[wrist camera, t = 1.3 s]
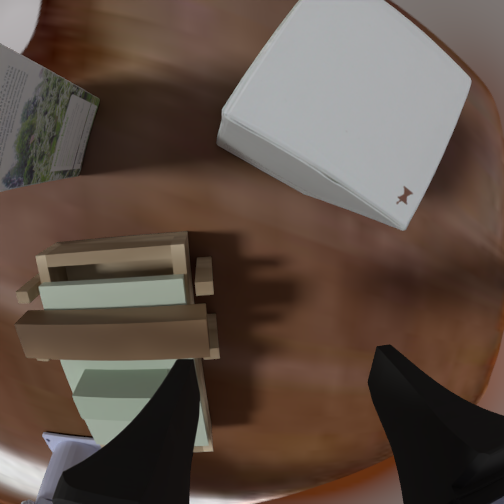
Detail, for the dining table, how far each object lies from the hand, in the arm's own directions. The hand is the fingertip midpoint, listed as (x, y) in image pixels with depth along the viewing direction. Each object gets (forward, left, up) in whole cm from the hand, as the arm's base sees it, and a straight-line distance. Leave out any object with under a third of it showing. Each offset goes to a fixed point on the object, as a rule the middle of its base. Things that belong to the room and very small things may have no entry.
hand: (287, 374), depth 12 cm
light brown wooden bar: (-1, +9, -7) cm, 12 cm away
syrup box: (+11, +13, -12) cm, 21 cm away
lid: (-6, +9, -8) cm, 14 cm away
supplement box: (+10, -3, -12) cm, 16 cm away
